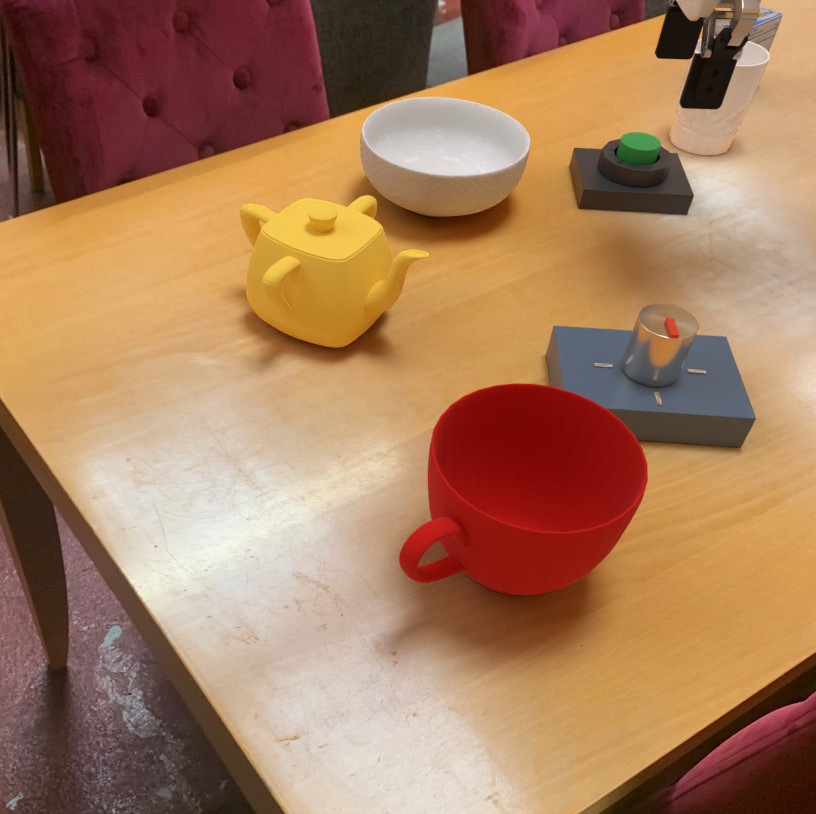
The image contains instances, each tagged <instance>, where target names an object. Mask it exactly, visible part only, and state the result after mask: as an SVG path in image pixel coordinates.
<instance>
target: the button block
mask: <svg viewBox="0 0 816 814" xmlns="http://www.w3.org/2000/svg"><path fill="white" fill-rule="evenodd" d="M620 139H621V138H617V139H614V140H613V139H612V140H609V141H607V143H605V145H603V146H602V148H589V147H573V150H572V153H571V158H570V162H569V166H568V168H569V171H570V176H571V181H572V185H573V191H574V194H575V199H576V204H577V207H578V209H579V210H593V211H594V210H595V211H612V212H613V211H614V212H629V213H630V212H631V213H647V214H665V215H667V214H668V215H681V216H683V215H684V216H687V215H688V213H689V210H690V208H691V205H692V203H693V199H694V197H695V194H694V192H693V189H692V186H691V184H690V181H689V179H688V176H687V174H686V171H685V168H684V166H683V164H682V160H681V159H680V156H679V154H678V152H670V151H669V150H667V149H666V148H665V147H663V146H662V145H661V146H660V150H659V153H658V156H657V159H656V162H655V163H654V164H649V165H635V164H631V163H628V162H625V161H622V160H621V159H619V158H618V157H617V156H616V153H617V150H618V146H619V143H620Z"/></svg>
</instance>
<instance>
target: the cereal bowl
mask: <svg viewBox="0 0 816 814" xmlns="http://www.w3.org/2000/svg"><path fill="white" fill-rule="evenodd" d="M359 143H360V145H359V151H360V159H361V161H360V162H361V165H362V170H363V172H364V173H365V176H366V178H367V180H368V182H370V184H371V185H372V187H373V188H374V189H375V190H376V191H377V192H378V193H379V195H381V196H382V197H383V198H384V199H386V200H388V201H389V202H391V203H393V204H395V205H396V206H399V207H400V208H403V209H405V210H408V211H411V212H413V213H414V214H418V215H421V216H424V217H431V218H452V217H457V216H458V217H460V216H468V215H472V214H477V213H480V212H483V211H485V210H488V209H490V208H492V207H495V206H496V205H498V204H500V203H501V202H503V200H505V199H506V198H507V197H508V196H510V195H511V194H512V192H513V191H514V190H515V189H516V187H517V186H518V185H519V183H520V181H521V180H522V177H523V175H524V172H525V170H526V165H527V163H528V160H529V156H530V155H529V154H530V152H531V143H532V142H531V137H530V133H529V132H528V130H527V129H526V127H525V126H524V125H523V124H522V123H521V122H520V121H518V120H517V119H516V118H514V116H513V117H512V115H509V114H508V113H506V112H504V111H502V110H499V109H497V108H495V107H493V106H489V105H486V104H483V103H480V102H476V101H472V100H467V99H461V98H454V97H447V96H446V97H444V96H420V97H410V98H405V99H400V100H395V101H392V102H390V103H387V104H385V105H382V106H381V107H378V108H376V109H375V110H374V111H372V112H371V113H370V114H369V115H368V116H367V117H366V118H365V120H364V122H363V123H362V126H361V131H360V139H359Z"/></svg>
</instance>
